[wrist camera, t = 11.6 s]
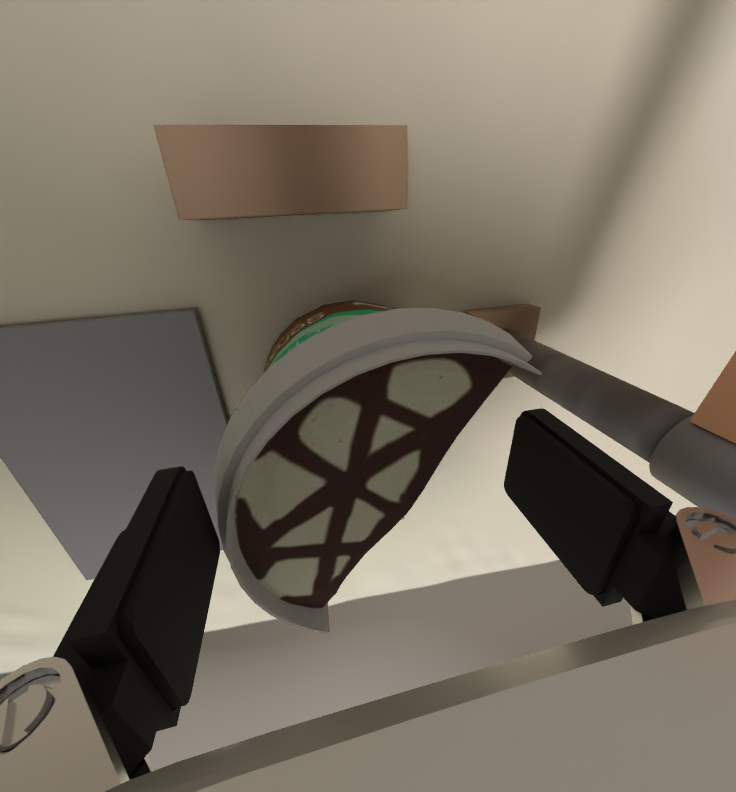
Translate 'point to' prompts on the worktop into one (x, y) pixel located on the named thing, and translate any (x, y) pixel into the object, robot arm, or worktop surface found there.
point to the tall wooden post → (704, 450)
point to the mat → (106, 419)
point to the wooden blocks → (372, 192)
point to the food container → (345, 442)
